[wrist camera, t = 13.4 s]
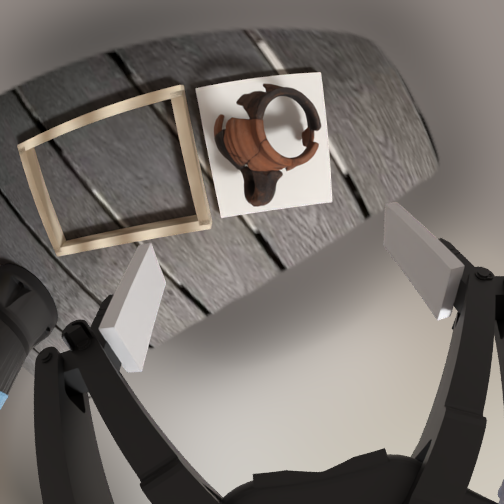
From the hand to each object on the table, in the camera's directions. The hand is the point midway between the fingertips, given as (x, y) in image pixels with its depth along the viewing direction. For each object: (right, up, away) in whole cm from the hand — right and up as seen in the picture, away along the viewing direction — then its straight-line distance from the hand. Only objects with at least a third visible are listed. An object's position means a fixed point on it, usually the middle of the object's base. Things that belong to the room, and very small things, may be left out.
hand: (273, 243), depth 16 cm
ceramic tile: (+1, +11, +15) cm, 19 cm away
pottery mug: (0, +12, +14) cm, 18 cm away
